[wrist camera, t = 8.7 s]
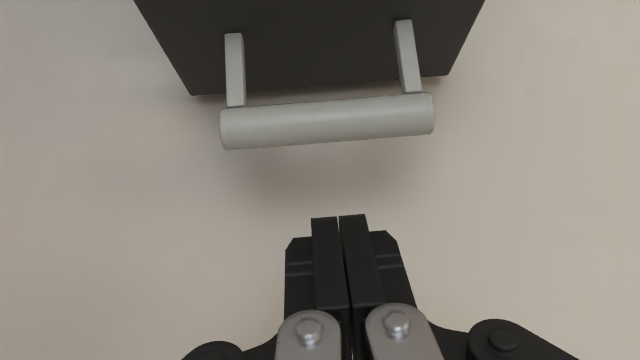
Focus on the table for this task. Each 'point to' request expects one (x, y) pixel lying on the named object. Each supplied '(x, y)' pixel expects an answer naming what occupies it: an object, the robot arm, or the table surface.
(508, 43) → the table surface
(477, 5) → the drawer
